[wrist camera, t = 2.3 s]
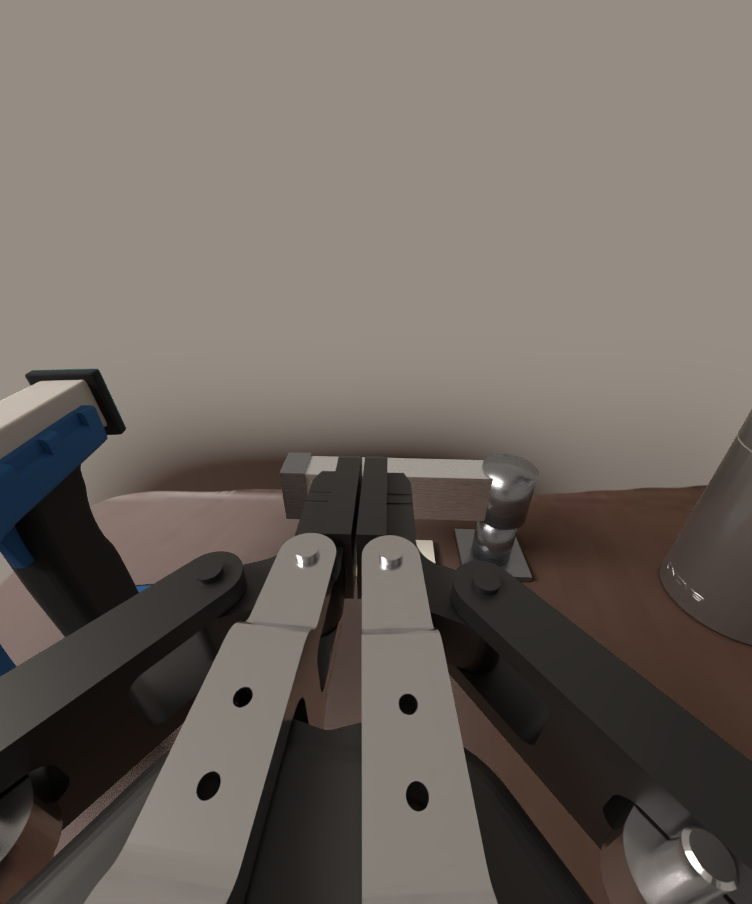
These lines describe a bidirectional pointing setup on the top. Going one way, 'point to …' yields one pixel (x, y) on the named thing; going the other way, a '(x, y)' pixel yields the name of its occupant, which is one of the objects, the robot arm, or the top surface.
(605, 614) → the top surface
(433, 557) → the label plate
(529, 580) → the gray square plate
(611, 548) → the top surface
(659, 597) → the top surface
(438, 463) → the bar
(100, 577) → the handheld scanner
